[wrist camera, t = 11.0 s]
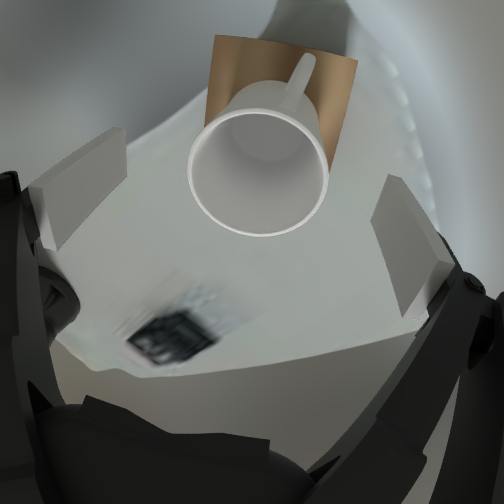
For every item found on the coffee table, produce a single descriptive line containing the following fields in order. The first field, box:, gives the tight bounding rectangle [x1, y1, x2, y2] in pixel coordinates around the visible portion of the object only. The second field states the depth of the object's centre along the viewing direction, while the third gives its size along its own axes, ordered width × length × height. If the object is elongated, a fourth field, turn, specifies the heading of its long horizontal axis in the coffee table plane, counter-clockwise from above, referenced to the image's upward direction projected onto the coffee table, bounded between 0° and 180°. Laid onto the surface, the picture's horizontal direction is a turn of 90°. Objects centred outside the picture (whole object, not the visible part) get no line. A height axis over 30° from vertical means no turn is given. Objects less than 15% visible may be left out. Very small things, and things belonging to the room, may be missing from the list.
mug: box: [187, 53, 329, 236], centre depth 21 cm, size 12×8×12 cm
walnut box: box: [204, 35, 358, 172], centre depth 28 cm, size 12×12×6 cm
